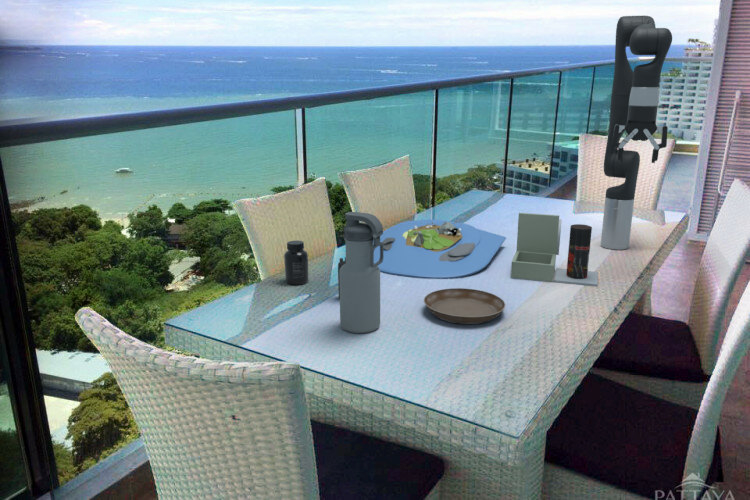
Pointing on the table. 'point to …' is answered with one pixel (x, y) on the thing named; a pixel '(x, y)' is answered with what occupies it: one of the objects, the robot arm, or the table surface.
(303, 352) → the table surface
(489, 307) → the plant saucer
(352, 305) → the water bottle
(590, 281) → the mat
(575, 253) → the deodorant
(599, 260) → the table surface
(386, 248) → the island diorama
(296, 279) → the supplement bottle
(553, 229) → the case
